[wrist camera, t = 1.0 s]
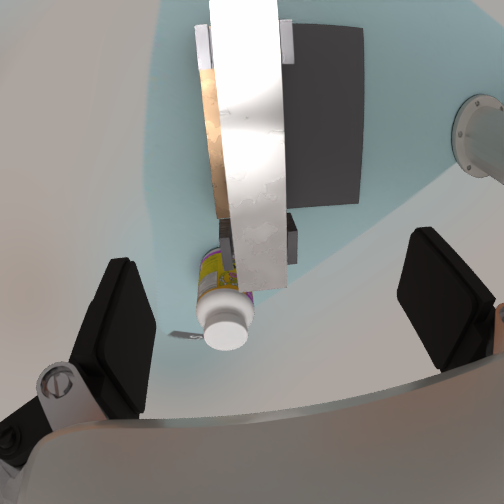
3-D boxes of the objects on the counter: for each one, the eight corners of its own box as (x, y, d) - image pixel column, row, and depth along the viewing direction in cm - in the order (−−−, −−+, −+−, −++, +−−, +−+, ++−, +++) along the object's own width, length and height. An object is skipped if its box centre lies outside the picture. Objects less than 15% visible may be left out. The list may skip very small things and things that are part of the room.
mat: (360, 28, 27) (363, 28, 27) (356, 201, 39) (358, 203, 39) (275, 24, 27) (276, 23, 26) (283, 206, 39) (284, 208, 39)
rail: (269, 6, 17) (276, -3, 14) (280, 263, 30) (286, 287, 27) (211, 10, 17) (209, 0, 14) (237, 267, 29) (238, 292, 27)
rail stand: (273, 24, 27) (304, 1, 15) (282, 206, 39) (306, 275, 28) (197, 29, 27) (178, 8, 15) (217, 212, 39) (215, 284, 28)
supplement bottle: (258, 268, 44) (270, 339, 33) (221, 291, 46) (223, 363, 35) (227, 235, 41) (230, 305, 30) (189, 262, 43) (181, 334, 32)
